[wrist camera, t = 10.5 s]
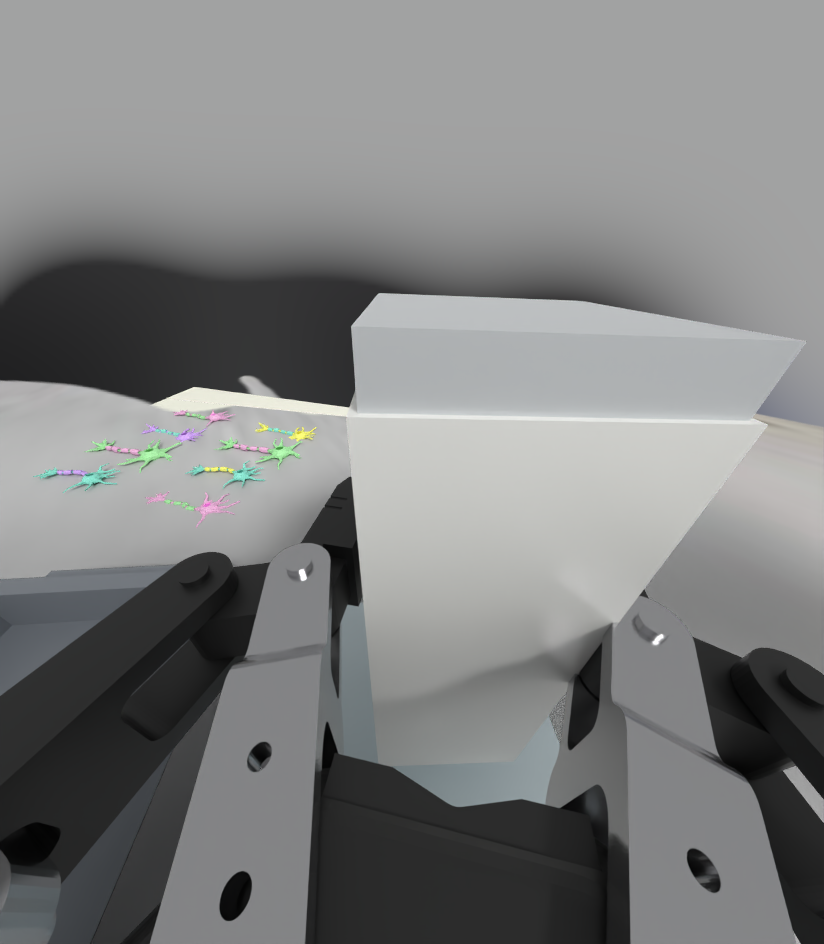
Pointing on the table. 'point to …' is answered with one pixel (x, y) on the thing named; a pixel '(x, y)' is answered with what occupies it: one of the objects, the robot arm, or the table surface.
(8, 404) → the table surface
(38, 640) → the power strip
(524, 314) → the block
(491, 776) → the mat
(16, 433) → the table surface
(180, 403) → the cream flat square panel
